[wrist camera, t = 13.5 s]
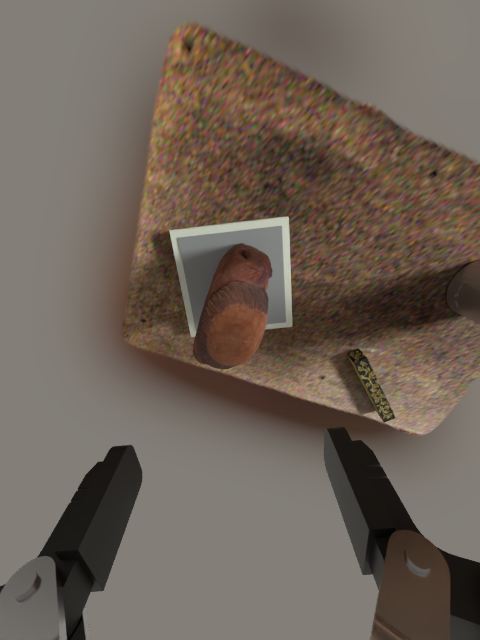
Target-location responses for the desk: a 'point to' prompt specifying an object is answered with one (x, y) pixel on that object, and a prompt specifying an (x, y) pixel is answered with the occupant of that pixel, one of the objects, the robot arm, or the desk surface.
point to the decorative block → (371, 384)
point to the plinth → (209, 248)
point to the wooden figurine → (234, 309)
